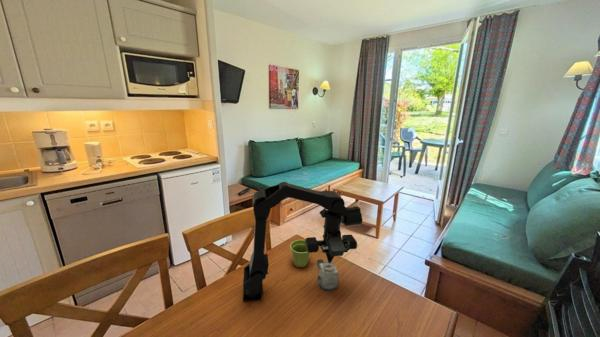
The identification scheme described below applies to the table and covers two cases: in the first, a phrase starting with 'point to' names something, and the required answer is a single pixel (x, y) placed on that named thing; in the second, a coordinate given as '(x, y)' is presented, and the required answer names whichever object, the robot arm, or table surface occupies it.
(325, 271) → the block with round boss
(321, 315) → the table surface
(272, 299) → the table surface
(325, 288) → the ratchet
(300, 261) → the plant pot
